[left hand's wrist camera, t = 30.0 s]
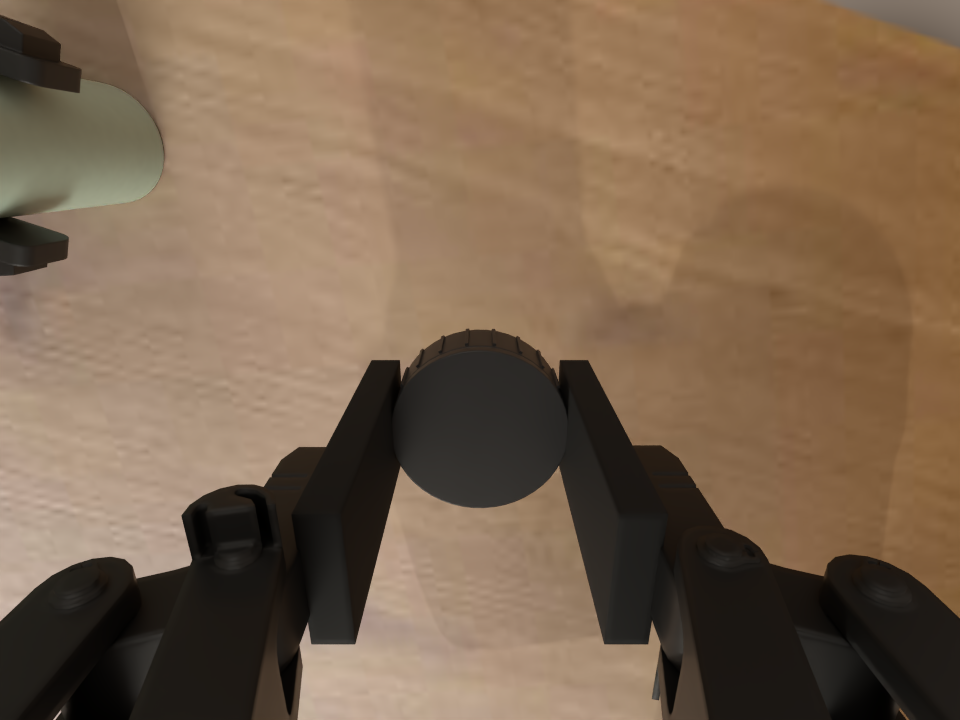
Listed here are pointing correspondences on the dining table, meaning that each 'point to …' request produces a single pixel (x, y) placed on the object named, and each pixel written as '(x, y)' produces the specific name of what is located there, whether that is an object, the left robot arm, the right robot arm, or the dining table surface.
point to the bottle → (74, 148)
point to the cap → (479, 419)
